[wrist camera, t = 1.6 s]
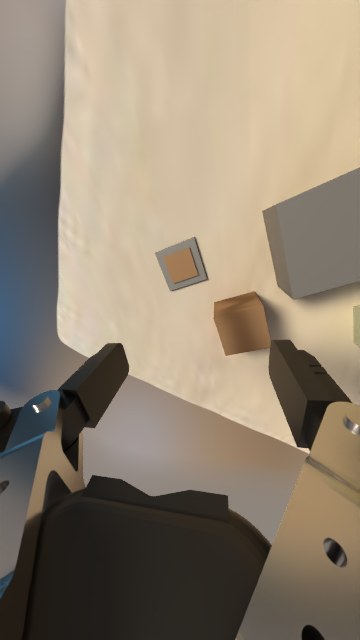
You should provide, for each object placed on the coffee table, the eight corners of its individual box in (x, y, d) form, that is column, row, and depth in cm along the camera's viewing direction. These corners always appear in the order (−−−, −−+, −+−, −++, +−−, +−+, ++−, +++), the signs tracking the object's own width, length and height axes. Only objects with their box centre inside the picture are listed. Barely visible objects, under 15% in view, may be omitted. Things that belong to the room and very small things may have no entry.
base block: (360, 167, 19) (416, 142, 14) (363, 259, 22) (408, 267, 17) (261, 211, 22) (276, 204, 17) (277, 285, 26) (293, 299, 20)
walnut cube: (254, 291, 26) (263, 306, 21) (261, 326, 29) (271, 347, 23) (214, 302, 28) (213, 318, 23) (224, 334, 30) (225, 355, 25)
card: (194, 237, 25) (193, 237, 24) (206, 278, 27) (206, 279, 26) (155, 252, 27) (154, 253, 26) (170, 290, 29) (169, 291, 28)
